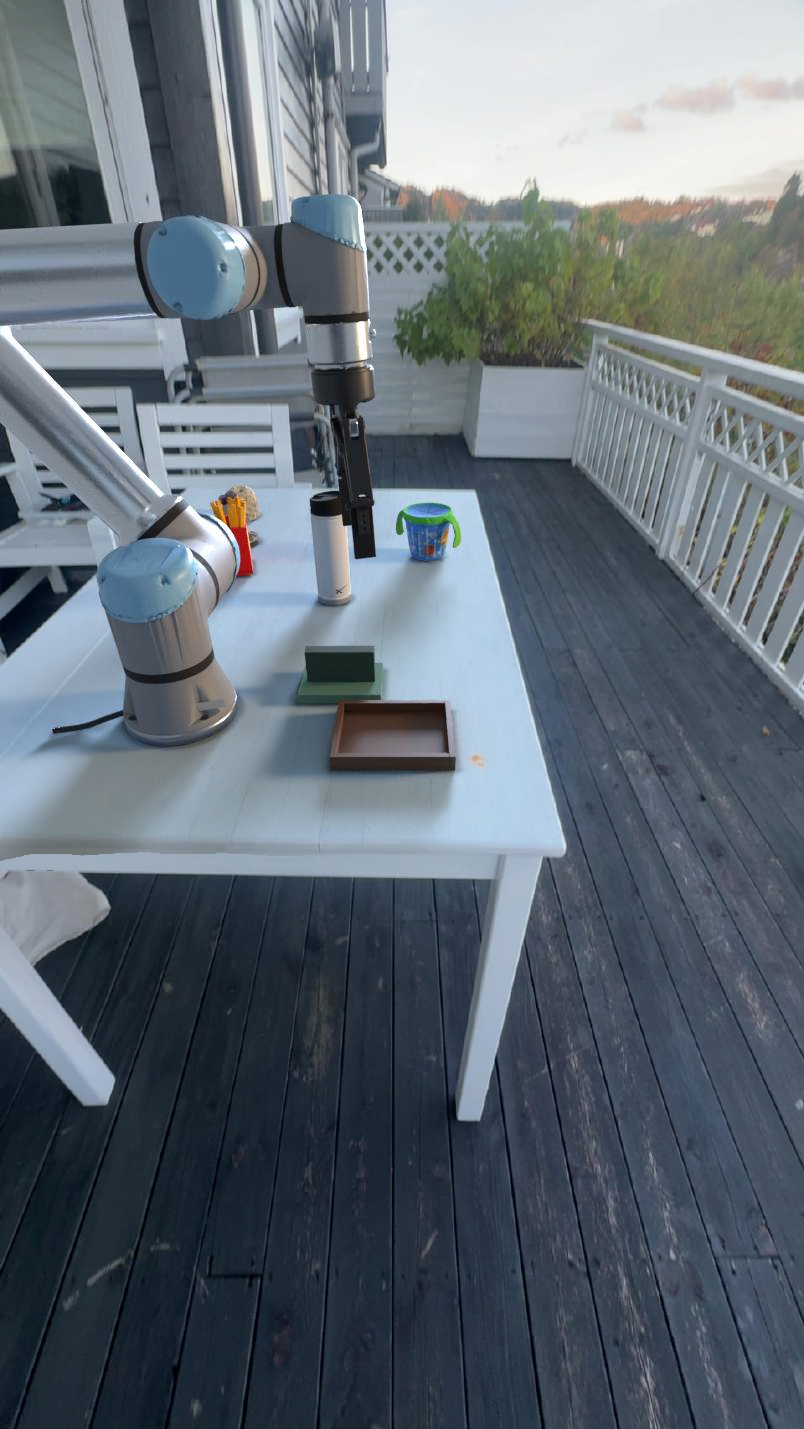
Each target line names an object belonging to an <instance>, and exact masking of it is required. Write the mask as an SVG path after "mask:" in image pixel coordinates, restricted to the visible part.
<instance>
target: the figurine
mask: <svg viewBox="0 0 804 1429" xmlns="http://www.w3.org/2000/svg"><path fill="white" fill-rule="evenodd" d="M237 496H238V494H237V493H236V492H235V491H228V492H227V491H226V492H225V493H224V494H221V495H219V496H218V498H217V501H218V500H220V502H221V505H226V506H227V508H229V507H228V501H227V498H230V497H231V500H232V499H235V497H237ZM245 514H246V513H245ZM245 516H246V515H245ZM246 523H247V524H248V523H249V521H247V518H246ZM248 536H249V542H250V548H252V547H253V548H254V547H255V546H258V545H259V544H260V543H261V540H260V534H259V533H258V532H257V531H254V530H248Z"/></svg>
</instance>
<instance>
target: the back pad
mask: <svg viewBox="0 0 804 1429" xmlns="http://www.w3.org/2000/svg"><path fill="white" fill-rule="evenodd" d="M375 648H376V646H375V645H306V646H305V649H304V660H305V661H304V662H305V666H304V669H303V673H302V676H301V680H300V685H299V688H298V692H297V702H298V704H301V705H303V704H338V703H339V700H344V701H345V700H383V699H382V697H383V682H384V662H376V652H375V651H376V649H375Z"/></svg>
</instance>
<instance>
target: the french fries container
mask: <svg viewBox="0 0 804 1429" xmlns="http://www.w3.org/2000/svg"><path fill="white" fill-rule="evenodd" d="M227 501H228V507H229V508H227V513H228V515H224V512H223V508H222V507H223V506H222V504H221V502H220V500H218V499H217V500H215V501H210V502H209V504H210V507H211V510H212V512H213V515H214V517H216V518H217V519H219V520H220V521H222V522H223V523H224V524H225V525H226V526H227V527H228V528H229V529H230V531H231V532H232V534H233V535H234V537H235V539H236V541H237V544H238V547H239V551H240V566H239V570H238V573H237V575H236V578H239V577H250V576H251V575H254V566H253V556H252V548H251V547H250V542H249V536H248V531H249V530H248V523H246V516H245V513H246V502H244V499H240V497H238V496H237V497H235V499H232V500H231V497H230V498H227Z"/></svg>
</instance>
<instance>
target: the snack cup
mask: <svg viewBox="0 0 804 1429" xmlns="http://www.w3.org/2000/svg"><path fill="white" fill-rule="evenodd" d="M453 511H454V510H453V508H452V506H450V505H447V504H445V503H439V502H418V503H413V504H409V505H408V506H405V507H404V508H403V509H402V510H400V511H399V512H398V514H397V516H396V520H395V521H396V522H395V533H396V535H397V536H401V535H403V534H404V533H405V530H406V535H407V542H408V547H409V553H410V555H411V558H413V559H415V560H418V561H425V562H430V561H431V562H432V561H437V560H439V559H443V557H444V556H445V554H446V549H447V543H448V538H449V531H450V526H452V529H453V534H454V538H453V542H452V548H453V549H456V548H458V547H459V546H460V544H461V542H462V532H461V527H460V524H459V521H458V519H457V518H456V516H454V514H453V513H454V512H453ZM403 520H404V522H405V528H404V522H403Z"/></svg>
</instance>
